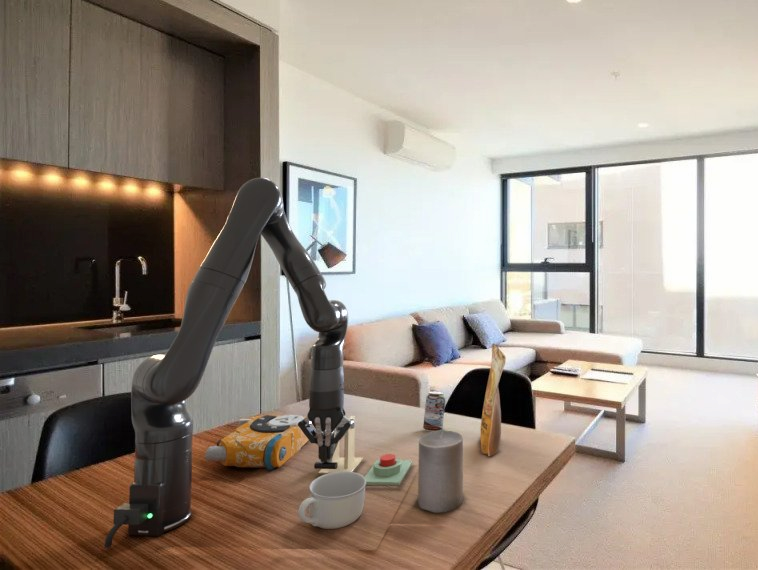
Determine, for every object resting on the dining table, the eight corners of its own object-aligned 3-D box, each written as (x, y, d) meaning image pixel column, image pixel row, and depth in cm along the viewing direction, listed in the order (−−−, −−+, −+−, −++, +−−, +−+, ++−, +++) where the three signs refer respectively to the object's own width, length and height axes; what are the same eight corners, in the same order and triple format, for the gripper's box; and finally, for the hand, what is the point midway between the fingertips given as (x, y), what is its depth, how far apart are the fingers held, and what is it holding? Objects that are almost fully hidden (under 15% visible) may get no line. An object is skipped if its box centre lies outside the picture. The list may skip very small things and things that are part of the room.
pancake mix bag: (502, 432, 141) (502, 342, 142) (505, 458, 122) (506, 353, 123) (480, 433, 140) (480, 342, 141) (480, 459, 121) (481, 353, 122)
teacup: (347, 502, 99) (348, 465, 99) (376, 520, 92) (377, 480, 92) (281, 531, 88) (282, 489, 88) (309, 554, 81) (309, 508, 81)
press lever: (336, 471, 106) (334, 465, 105) (315, 471, 106) (312, 465, 105) (354, 424, 117) (352, 417, 116) (335, 423, 117) (333, 417, 116)
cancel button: (392, 467, 109) (392, 460, 109) (378, 467, 109) (378, 460, 109) (397, 461, 112) (397, 454, 112) (382, 461, 113) (382, 453, 113)
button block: (399, 489, 104) (399, 474, 105) (360, 489, 105) (360, 473, 105) (412, 466, 116) (412, 453, 117) (377, 466, 117) (377, 452, 117)
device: (184, 443, 111) (253, 405, 141) (183, 477, 111) (252, 432, 141) (277, 442, 111) (326, 405, 141) (277, 476, 111) (325, 432, 141)
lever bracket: (350, 477, 110) (351, 424, 111) (317, 477, 111) (318, 424, 111) (363, 462, 119) (364, 412, 120) (333, 461, 120) (334, 412, 120)
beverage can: (419, 433, 140) (419, 394, 140) (430, 425, 147) (430, 388, 147) (438, 435, 138) (438, 396, 138) (448, 427, 145) (448, 389, 145)
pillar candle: (457, 488, 105) (458, 422, 106) (466, 509, 96) (467, 437, 96) (415, 494, 102) (416, 427, 103) (420, 517, 93) (421, 442, 94)
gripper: (290, 390, 103) (289, 467, 102) (348, 390, 103) (347, 468, 102) (306, 381, 110) (305, 453, 110) (360, 382, 110) (359, 454, 110)
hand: (325, 460), depth 106 cm, fingers closed
